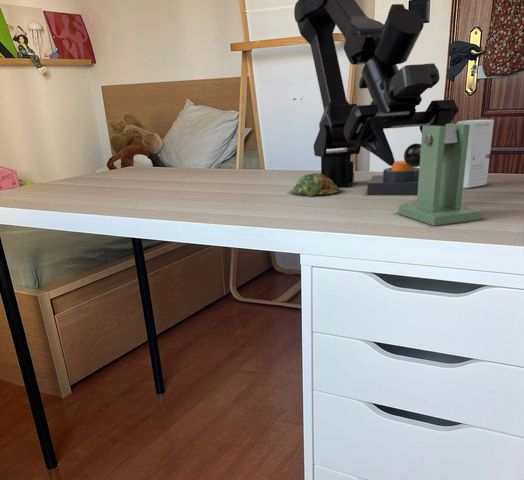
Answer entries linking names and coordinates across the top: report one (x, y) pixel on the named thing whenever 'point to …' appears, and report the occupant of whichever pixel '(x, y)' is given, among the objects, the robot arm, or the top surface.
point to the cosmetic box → (478, 152)
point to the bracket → (441, 179)
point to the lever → (415, 149)
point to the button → (400, 166)
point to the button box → (394, 183)
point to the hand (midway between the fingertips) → (417, 161)
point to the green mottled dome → (315, 185)
